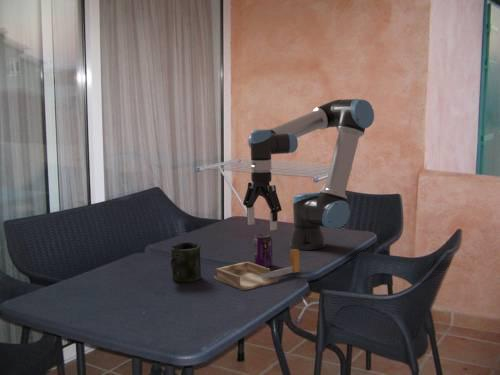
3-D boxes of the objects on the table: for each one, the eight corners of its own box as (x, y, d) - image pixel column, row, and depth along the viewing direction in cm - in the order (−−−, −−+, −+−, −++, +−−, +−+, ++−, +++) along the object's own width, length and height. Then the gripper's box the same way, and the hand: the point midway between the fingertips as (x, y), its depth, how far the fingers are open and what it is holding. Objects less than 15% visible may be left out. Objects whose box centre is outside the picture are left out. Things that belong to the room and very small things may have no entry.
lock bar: (295, 270, 219) (295, 248, 218) (299, 271, 218) (299, 249, 216) (260, 278, 209) (260, 256, 208) (264, 280, 208) (263, 257, 207)
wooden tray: (247, 270, 224) (246, 260, 224) (278, 281, 210) (278, 271, 209) (213, 278, 215) (213, 268, 215) (243, 290, 201) (243, 279, 200)
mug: (207, 275, 219) (206, 243, 217) (187, 287, 206) (185, 253, 204) (182, 272, 224) (180, 241, 222) (160, 283, 210) (158, 250, 209)
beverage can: (270, 269, 226) (270, 237, 224) (252, 268, 227) (251, 237, 226) (274, 263, 233) (273, 233, 231) (255, 263, 234) (255, 233, 232)
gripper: (233, 169, 232) (234, 223, 235) (274, 174, 213) (275, 233, 216) (249, 167, 237) (249, 220, 240) (290, 173, 217) (291, 230, 220)
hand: (262, 227), depth 228 cm, fingers open, 13 cm apart
